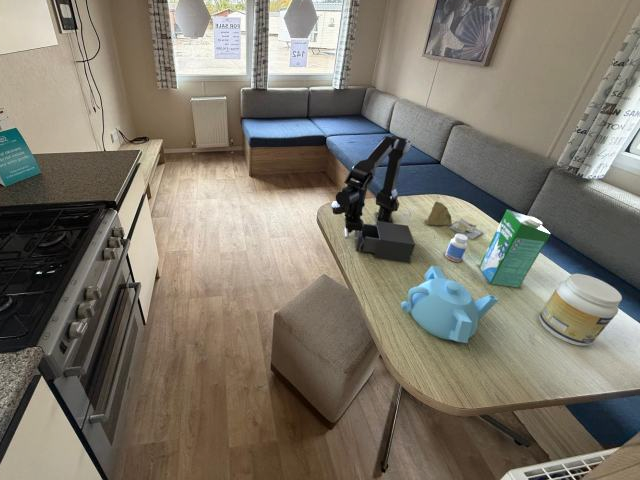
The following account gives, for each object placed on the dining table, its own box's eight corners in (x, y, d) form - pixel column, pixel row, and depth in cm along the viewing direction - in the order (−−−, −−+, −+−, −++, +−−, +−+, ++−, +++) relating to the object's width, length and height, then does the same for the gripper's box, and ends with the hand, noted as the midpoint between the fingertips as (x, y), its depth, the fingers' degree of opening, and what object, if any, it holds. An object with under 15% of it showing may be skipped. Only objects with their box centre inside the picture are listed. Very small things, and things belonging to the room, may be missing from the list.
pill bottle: (462, 263, 115) (471, 242, 111) (446, 259, 117) (454, 239, 112) (459, 255, 120) (468, 234, 115) (444, 251, 122) (452, 231, 117)
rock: (453, 216, 141) (430, 207, 145) (461, 208, 133) (436, 199, 137) (446, 236, 138) (422, 226, 142) (452, 230, 130) (428, 219, 134)
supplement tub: (585, 356, 83) (623, 312, 75) (531, 324, 92) (559, 282, 84) (595, 333, 90) (631, 291, 82) (544, 306, 98) (571, 265, 90)
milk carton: (519, 288, 105) (554, 227, 93) (490, 283, 107) (521, 223, 95) (505, 270, 113) (537, 212, 101) (478, 266, 114) (506, 208, 103)
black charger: (375, 257, 117) (380, 239, 113) (371, 238, 128) (376, 221, 124) (409, 263, 115) (415, 244, 111) (402, 242, 126) (408, 225, 122)
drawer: (343, 249, 119) (346, 235, 116) (342, 232, 129) (345, 219, 126) (385, 256, 116) (390, 242, 113) (381, 238, 126) (385, 225, 123)
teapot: (453, 358, 82) (472, 322, 75) (390, 309, 95) (401, 276, 89) (485, 324, 91) (504, 290, 85) (423, 285, 105) (435, 253, 99)
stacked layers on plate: (448, 227, 136) (452, 217, 134) (458, 222, 141) (462, 211, 138) (472, 239, 129) (477, 228, 126) (482, 233, 133) (487, 222, 131)
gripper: (334, 184, 124) (328, 216, 131) (334, 207, 108) (328, 242, 115) (363, 187, 122) (355, 220, 129) (367, 211, 106) (359, 247, 113)
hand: (349, 232), depth 122 cm, fingers closed, pressing on drawer
